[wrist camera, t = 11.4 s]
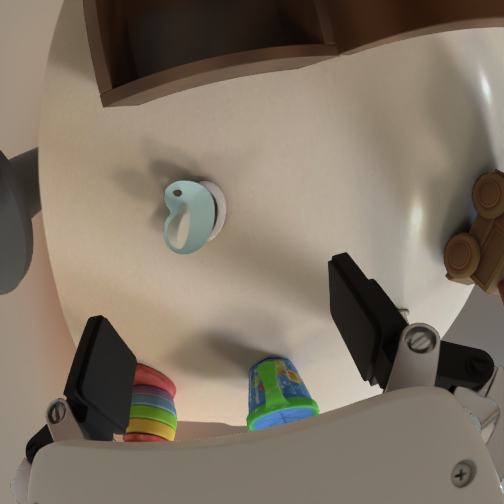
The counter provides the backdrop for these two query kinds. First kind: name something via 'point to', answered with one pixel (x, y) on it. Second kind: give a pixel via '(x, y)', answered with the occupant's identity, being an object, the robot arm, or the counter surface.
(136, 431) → the stacking bear
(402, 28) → the lid
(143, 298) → the counter surface
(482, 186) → the wooden toy train
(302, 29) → the chest
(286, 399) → the snack cup
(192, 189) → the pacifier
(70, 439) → the robot arm
